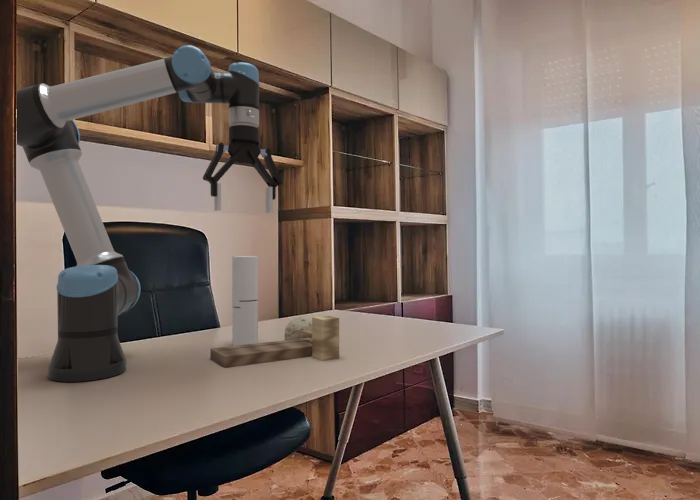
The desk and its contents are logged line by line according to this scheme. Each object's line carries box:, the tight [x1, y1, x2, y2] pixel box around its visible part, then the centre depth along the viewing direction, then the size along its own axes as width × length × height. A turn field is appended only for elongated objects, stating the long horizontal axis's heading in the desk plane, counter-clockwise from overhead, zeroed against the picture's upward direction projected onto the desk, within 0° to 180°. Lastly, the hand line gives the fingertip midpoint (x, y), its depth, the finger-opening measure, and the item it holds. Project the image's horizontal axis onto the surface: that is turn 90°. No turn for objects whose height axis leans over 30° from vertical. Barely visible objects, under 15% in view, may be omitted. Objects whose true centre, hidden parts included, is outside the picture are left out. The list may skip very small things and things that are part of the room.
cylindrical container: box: [231, 255, 259, 346], centre depth 143 cm, size 7×7×25 cm
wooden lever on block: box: [302, 315, 340, 361], centre depth 130 cm, size 5×14×10 cm, turn 33°
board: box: [210, 338, 312, 369], centre depth 128 cm, size 30×11×3 cm, turn 123°
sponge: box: [283, 316, 312, 340], centre depth 145 cm, size 9×10×10 cm
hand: (244, 211), depth 127 cm, fingers open, 13 cm apart
